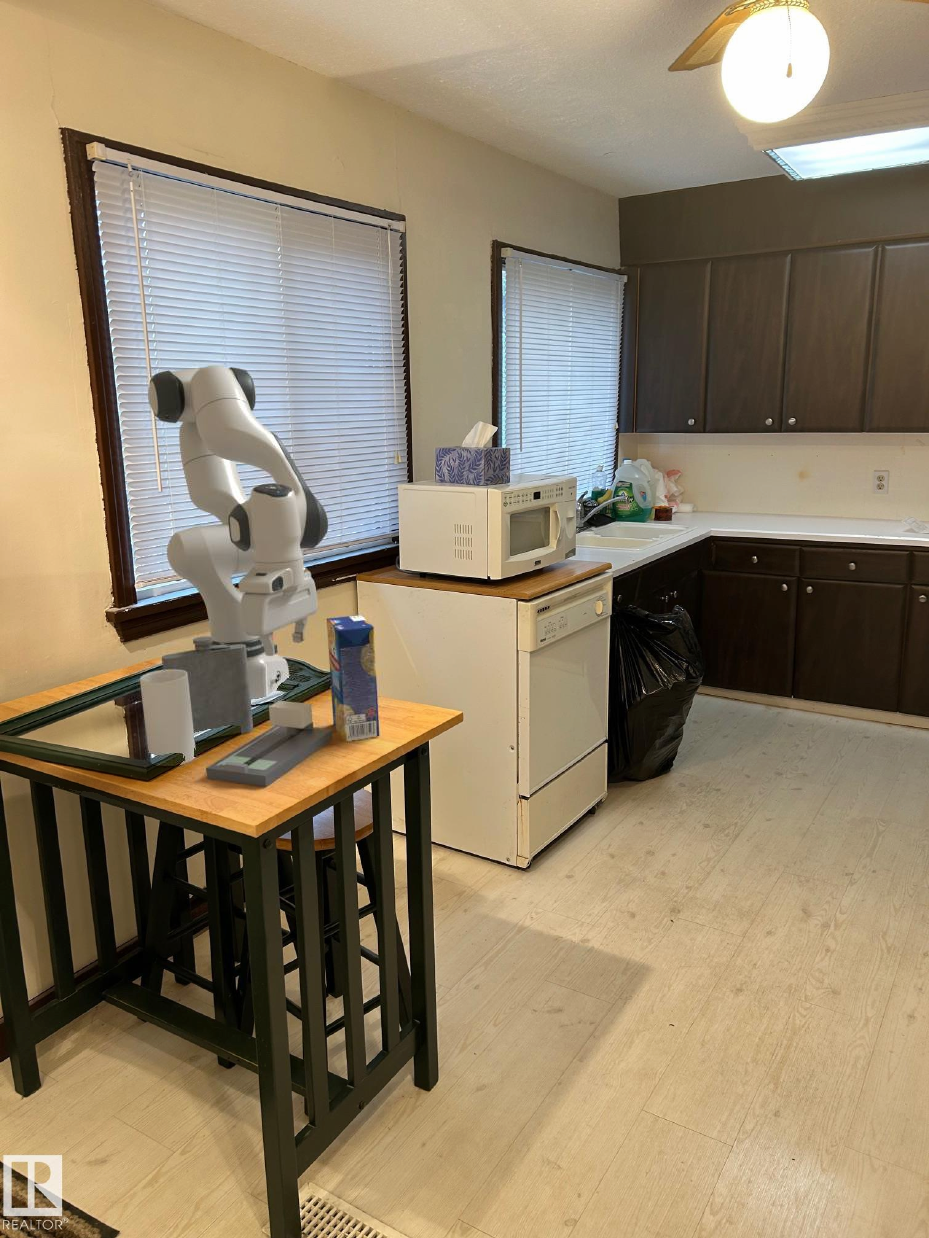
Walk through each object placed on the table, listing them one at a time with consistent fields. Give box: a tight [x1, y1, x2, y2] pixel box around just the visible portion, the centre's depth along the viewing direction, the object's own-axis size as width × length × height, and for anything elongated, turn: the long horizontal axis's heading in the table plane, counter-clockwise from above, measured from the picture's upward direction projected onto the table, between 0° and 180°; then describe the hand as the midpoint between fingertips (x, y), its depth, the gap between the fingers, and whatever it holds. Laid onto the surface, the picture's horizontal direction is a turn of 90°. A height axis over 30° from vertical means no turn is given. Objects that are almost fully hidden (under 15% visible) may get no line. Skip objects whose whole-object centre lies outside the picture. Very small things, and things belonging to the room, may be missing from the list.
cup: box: [139, 669, 196, 766], centre depth 163 cm, size 8×8×16 cm
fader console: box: [205, 721, 333, 788], centre depth 164 cm, size 23×12×3 cm, turn 159°
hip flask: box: [161, 635, 254, 735], centre depth 174 cm, size 16×4×20 cm, turn 119°
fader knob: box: [268, 700, 313, 734], centre depth 169 cm, size 4×7×6 cm, turn 69°
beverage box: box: [326, 614, 380, 743], centre depth 174 cm, size 7×11×22 cm, turn 20°
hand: (285, 648), depth 166 cm, fingers open, 8 cm apart
